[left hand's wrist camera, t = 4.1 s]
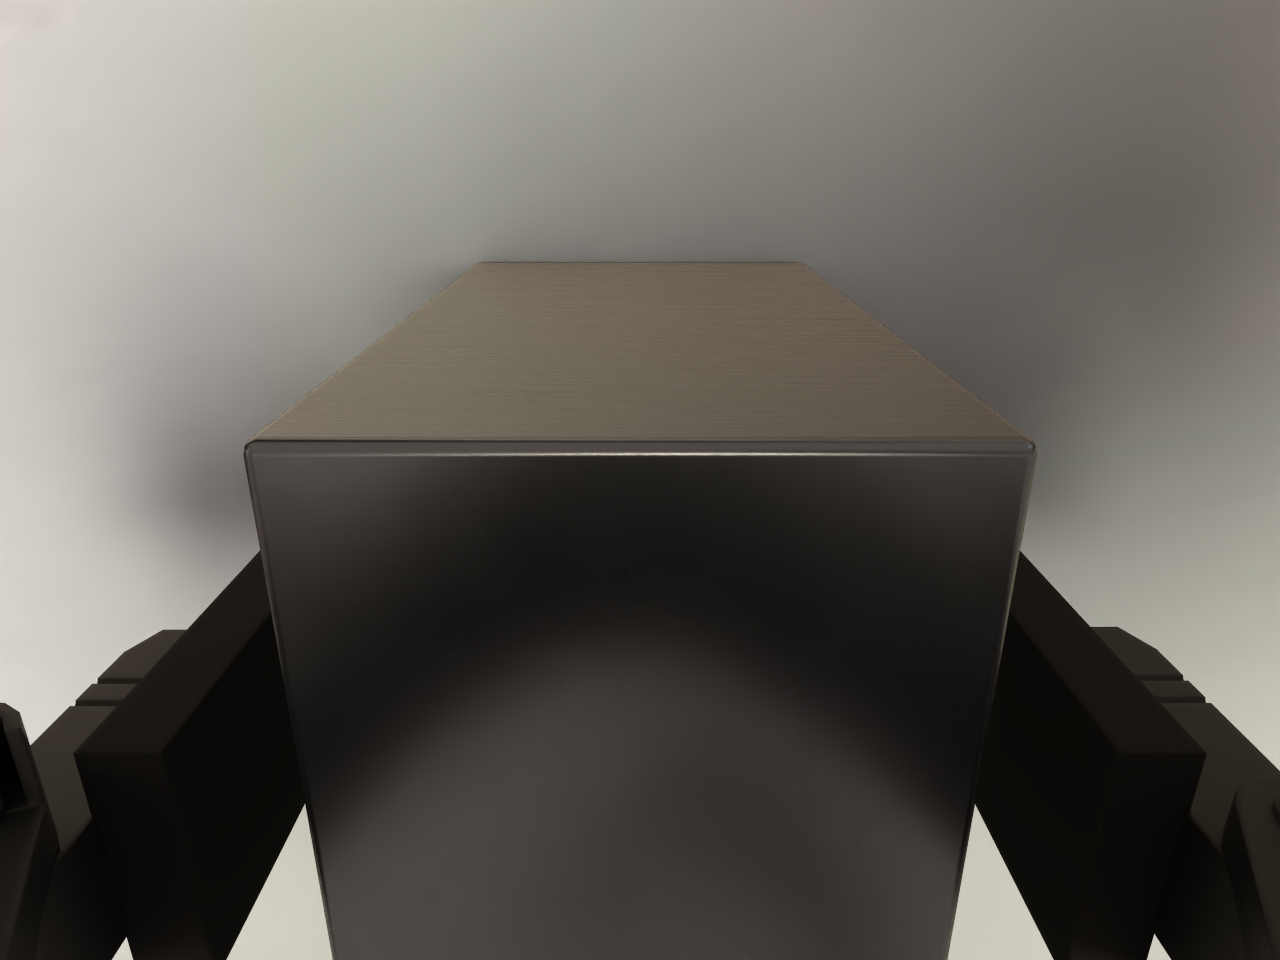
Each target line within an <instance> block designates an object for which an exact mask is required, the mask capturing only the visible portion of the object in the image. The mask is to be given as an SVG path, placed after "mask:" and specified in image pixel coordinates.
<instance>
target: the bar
mask: <svg viewBox="0 0 1280 960" xmlns="http://www.w3.org/2000/svg"><path fill="white" fill-rule="evenodd" d="M1036 456H1037V452H1036V447H1035V444H1034V441H1033V440H1031V439H1030V438H1029V437H1027V436H1026V435H1025V434H1024V433H1022V432H1021V431H1020V430H1018V429H1017V428H1016V427H1014V426H1013V425H1012V424H1011V423H1009V422H1008V421H1007V420H1005V419H1004V418H1003V417H1001V416H1000V415H999V414H998V413H996V412H995V411H994V410H992V409H991V408H990V407H988V406H987V405H986V404H985V403H983V402H982V401H981V400H979V399H978V398H977V397H975V396H974V395H973V394H971V393H970V392H969V391H968V390H966V389H965V388H964V387H962V386H961V385H960V384H958V383H957V382H956V381H955V380H953V379H952V378H951V377H949V376H948V375H947V374H945V373H944V372H943V371H942V370H940V369H939V368H938V367H936V366H935V365H934V364H932V363H931V362H930V361H929V360H927V359H926V358H925V357H923V356H922V355H921V354H919V353H918V352H917V351H916V350H914V349H913V348H912V347H910V346H909V345H908V344H906V343H905V342H904V341H903V340H901V339H900V338H899V337H897V336H896V335H895V334H893V333H892V332H891V331H890V330H888V329H887V328H886V327H884V326H883V325H882V324H880V323H879V322H878V321H877V320H875V319H874V318H873V317H871V316H870V315H869V314H867V313H866V312H865V311H864V310H862V309H861V308H860V307H858V306H857V305H856V304H854V303H853V302H852V301H851V300H849V299H848V298H847V297H845V296H844V295H843V294H841V293H840V292H839V291H838V290H836V289H835V288H834V287H832V286H831V285H830V284H828V283H827V282H826V281H824V280H823V279H822V278H821V277H819V276H818V275H817V274H815V273H814V272H813V271H811V270H810V269H809V268H808V267H806V266H805V265H804V264H801V263H479V264H477V265H475V266H474V267H473V268H471V269H470V270H469V271H467V272H466V273H465V274H464V275H462V276H461V277H460V278H458V279H457V280H456V281H454V282H453V283H452V284H451V285H449V286H448V287H447V288H445V289H444V290H443V291H441V292H440V293H439V294H438V295H436V296H435V297H434V298H432V299H431V300H430V301H428V302H427V303H426V304H425V305H423V306H422V307H421V308H419V309H418V310H417V311H415V312H414V313H413V314H412V315H410V316H409V317H408V318H406V319H405V320H404V321H402V322H401V323H400V324H399V325H397V326H396V327H395V328H393V329H392V330H391V331H389V332H388V333H387V334H386V335H384V336H383V337H382V338H380V339H379V340H378V341H376V342H375V343H374V344H373V345H371V346H370V347H369V348H367V349H366V350H365V351H363V352H362V353H361V354H360V355H358V356H357V357H356V358H354V359H353V360H352V361H350V362H349V363H348V364H346V365H345V366H344V367H343V368H341V369H340V370H339V371H337V372H336V373H335V374H333V375H332V376H331V377H330V378H328V379H327V380H326V381H324V382H323V383H322V384H320V385H319V386H318V387H317V388H315V389H314V390H313V391H311V392H310V393H309V394H307V395H306V396H305V397H304V398H302V399H301V400H300V401H298V402H297V403H296V404H294V405H293V406H292V407H291V408H289V409H288V410H287V411H285V412H284V413H283V414H281V415H280V416H279V417H278V418H276V419H275V420H274V421H272V422H271V423H270V424H268V425H267V426H266V427H265V428H263V429H262V430H261V431H259V432H258V433H257V434H255V435H254V436H253V437H252V438H250V439H249V440H248V441H246V445H245V449H244V460H245V466H246V471H247V477H248V483H249V488H250V494H251V500H252V505H253V511H254V517H255V522H256V528H257V534H258V539H259V545H260V550H261V556H262V562H263V567H264V573H265V579H266V584H267V590H268V596H269V601H270V607H271V613H272V618H273V624H274V630H275V635H276V641H277V646H278V652H279V658H280V663H281V669H282V675H283V680H284V686H285V692H286V697H287V703H288V709H289V714H290V720H291V725H292V731H293V737H294V742H295V748H296V754H297V759H298V765H299V771H300V776H301V782H302V788H303V793H304V799H305V805H306V810H307V816H308V821H309V827H310V833H311V838H312V844H313V850H314V855H315V861H316V867H317V872H318V878H319V884H320V889H321V895H322V901H323V906H324V912H325V917H326V923H327V929H328V934H329V940H330V946H331V951H332V957H333V960H947V958H948V953H949V947H950V941H951V936H952V930H953V925H954V919H955V913H956V908H957V902H958V896H959V891H960V885H961V879H962V874H963V868H964V862H965V857H966V851H967V846H968V840H969V834H970V829H971V823H972V817H973V812H974V806H975V800H976V795H977V789H978V783H979V778H980V772H981V767H982V761H983V755H984V750H985V744H986V738H987V733H988V727H989V721H990V716H991V710H992V704H993V699H994V693H995V688H996V682H997V676H998V671H999V665H1000V659H1001V654H1002V648H1003V642H1004V637H1005V631H1006V625H1007V620H1008V614H1009V609H1010V603H1011V597H1012V592H1013V586H1014V580H1015V575H1016V569H1017V563H1018V558H1019V552H1020V546H1021V541H1022V535H1023V530H1024V524H1025V518H1026V513H1027V507H1028V501H1029V496H1030V490H1031V484H1032V479H1033V473H1034V467H1035V462H1036Z"/></svg>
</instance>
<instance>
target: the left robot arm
mask: <svg viewBox="0 0 1280 960" xmlns="http://www.w3.org/2000/svg"><path fill="white" fill-rule="evenodd" d="M304 804H305V799H304V793H303V788H302V782H301V776H300V771H299V765H298V759H297V754H296V748H295V742H294V737H293V731H292V725H291V720H290V714H289V709H288V703H287V697H286V692H285V686H284V680H283V675H282V669H281V663H280V658H279V652H278V646H277V641H276V635H275V630H274V624H273V618H272V613H271V607H270V601H269V596H268V590H267V584H266V579H265V573H264V567H263V562H262V556H261V550H260V551H259V552H258V553H257V555H256V556H255V557H254V558H253V559H252V560H251V561H250V562H249V563H248V564H247V565H246V566H245V568H244V569H243V570H242V571H241V572H240V573H239V574H238V575H237V576H236V577H235V578H234V579H233V581H232V582H231V583H230V584H229V585H228V586H227V587H226V588H225V589H224V590H223V591H222V592H221V594H220V595H219V596H218V597H217V598H216V599H215V600H214V601H213V602H212V603H211V604H210V605H209V607H208V608H207V609H206V610H205V611H204V612H203V613H202V614H201V615H200V616H199V617H198V618H197V620H196V621H195V622H194V623H193V624H192V625H191V626H190V627H189V628H188V629H187V630H162V631H160V632H158V633H157V634H155V635H153V636H152V637H150V638H148V639H146V640H145V641H143V642H141V643H139V644H138V645H136V646H134V647H132V648H131V649H129V650H127V651H126V652H124V653H123V654H122V655H121V656H120V657H119V658H118V659H117V660H116V661H115V662H114V663H113V664H112V665H111V666H110V667H109V668H108V669H107V670H106V671H105V672H104V673H103V674H102V675H101V676H100V677H99V678H98V682H97V684H92V685H91V686H90V687H89V688H88V689H87V690H86V691H85V692H84V693H83V694H82V695H81V696H80V697H79V698H78V699H77V700H76V704H75V706H70V707H69V708H68V709H67V710H66V711H65V712H64V713H63V714H62V715H61V716H60V717H59V718H58V719H57V720H56V721H55V722H54V723H53V724H52V725H51V726H50V727H49V728H48V729H47V730H46V731H45V732H44V733H43V734H42V735H41V736H40V737H39V738H38V739H37V740H36V741H35V742H34V743H33V744H32V745H31V746H30V744H29V741H28V738H27V734H26V731H25V728H24V725H23V722H22V718H21V715H20V712H18V711H17V710H15V709H13V708H12V707H10V706H9V705H7V704H6V703H0V960H112V958H113V957H114V955H115V954H116V952H117V951H118V949H119V948H120V946H121V944H122V943H123V941H124V940H125V938H126V937H127V940H128V943H129V946H130V950H131V953H132V957H133V960H226V959H227V957H228V955H229V953H230V951H231V949H232V947H233V945H234V943H235V941H236V939H237V937H238V935H239V933H240V931H241V929H242V927H243V925H244V923H245V922H246V920H247V918H248V916H249V914H250V912H251V910H252V908H253V906H254V904H255V902H256V900H257V898H258V896H259V894H260V892H261V890H262V888H263V886H264V884H265V882H266V880H267V878H268V876H269V874H270V872H271V870H272V868H273V866H274V864H275V862H276V860H277V858H278V856H279V854H280V852H281V850H282V848H283V846H284V844H285V842H286V840H287V838H288V836H289V834H290V832H291V830H292V828H293V826H294V824H295V822H296V820H297V818H298V816H299V814H300V812H301V810H302V808H303V806H304ZM975 804H976V806H977V808H978V810H979V812H980V814H981V816H982V818H983V820H984V822H985V824H986V826H987V828H988V830H989V832H990V834H991V836H992V838H993V840H994V842H995V844H996V846H997V848H998V850H999V852H1000V854H1001V856H1002V858H1003V860H1004V862H1005V864H1006V866H1007V868H1008V870H1009V872H1010V874H1011V876H1012V878H1013V880H1014V882H1015V884H1016V886H1017V888H1018V890H1019V892H1020V894H1021V896H1022V898H1023V900H1024V902H1025V904H1026V906H1027V908H1028V910H1029V912H1030V914H1031V916H1032V918H1033V919H1034V921H1035V923H1036V925H1037V927H1038V929H1039V931H1040V933H1041V935H1042V937H1043V939H1044V941H1045V943H1046V945H1047V947H1048V949H1049V951H1050V953H1051V955H1052V957H1053V959H1054V960H1147V957H1148V953H1149V950H1150V946H1151V943H1152V940H1153V936H1154V934H1155V935H1156V937H1157V938H1158V940H1159V941H1160V943H1161V944H1162V946H1163V948H1164V949H1165V951H1166V952H1167V954H1168V955H1169V957H1170V958H1171V960H1280V771H1279V770H1278V769H1277V768H1276V767H1275V766H1274V765H1273V764H1272V763H1271V762H1270V761H1269V760H1268V759H1267V758H1266V757H1265V756H1264V755H1263V754H1262V753H1261V752H1260V751H1259V750H1258V749H1257V748H1256V747H1255V746H1254V745H1253V744H1252V743H1251V742H1250V741H1249V740H1248V739H1247V738H1246V737H1245V736H1244V735H1243V734H1242V733H1241V732H1240V731H1239V730H1238V729H1237V728H1236V727H1235V726H1234V725H1233V724H1232V723H1231V722H1230V721H1229V720H1228V719H1227V718H1226V717H1225V716H1224V715H1223V714H1222V713H1220V712H1219V711H1218V710H1217V709H1216V708H1215V707H1214V706H1213V705H1212V704H1211V703H1206V701H1205V697H1204V696H1203V695H1202V694H1201V693H1200V692H1199V691H1198V690H1197V689H1196V688H1195V687H1194V686H1193V685H1192V684H1191V683H1190V682H1189V681H1184V680H1183V675H1182V674H1181V673H1180V672H1179V671H1178V670H1177V669H1176V668H1175V667H1174V666H1173V665H1172V664H1171V663H1170V662H1169V661H1168V660H1167V659H1166V658H1165V657H1164V656H1163V655H1162V654H1161V653H1160V652H1159V651H1158V650H1157V649H1155V648H1153V647H1152V646H1150V645H1148V644H1146V643H1145V642H1143V641H1141V640H1139V639H1138V638H1136V637H1134V636H1132V635H1131V634H1129V633H1127V632H1125V631H1124V630H1122V629H1120V628H1119V627H1090V626H1089V625H1088V624H1087V623H1086V622H1085V621H1084V620H1083V618H1082V617H1081V616H1080V615H1079V614H1078V613H1077V612H1076V611H1075V610H1074V609H1073V608H1072V607H1071V605H1070V604H1069V603H1068V602H1067V601H1066V600H1065V599H1064V598H1063V597H1062V596H1061V595H1060V594H1059V592H1058V591H1057V590H1056V589H1055V588H1054V587H1053V586H1052V585H1051V584H1050V583H1049V582H1048V581H1047V579H1046V578H1045V577H1044V576H1043V575H1042V574H1041V573H1040V572H1039V571H1038V570H1037V569H1036V568H1035V566H1034V565H1033V564H1032V563H1031V562H1030V561H1029V560H1028V559H1027V558H1026V557H1025V556H1024V555H1023V553H1022V552H1021V551H1020V552H1019V558H1018V563H1017V569H1016V575H1015V580H1014V586H1013V592H1012V597H1011V603H1010V609H1009V614H1008V620H1007V625H1006V631H1005V637H1004V642H1003V648H1002V654H1001V659H1000V665H999V671H998V676H997V682H996V688H995V693H994V699H993V704H992V710H991V716H990V721H989V727H988V733H987V738H986V744H985V750H984V755H983V761H982V767H981V772H980V778H979V783H978V789H977V795H976V800H975Z"/></svg>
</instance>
